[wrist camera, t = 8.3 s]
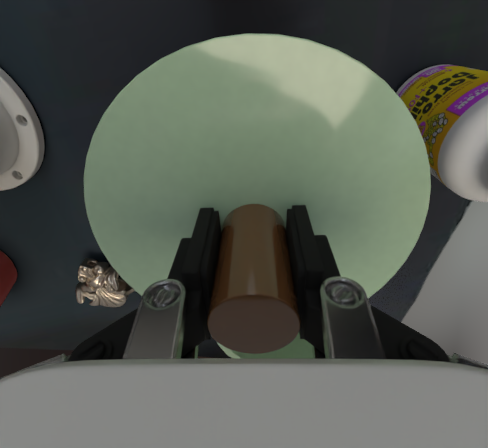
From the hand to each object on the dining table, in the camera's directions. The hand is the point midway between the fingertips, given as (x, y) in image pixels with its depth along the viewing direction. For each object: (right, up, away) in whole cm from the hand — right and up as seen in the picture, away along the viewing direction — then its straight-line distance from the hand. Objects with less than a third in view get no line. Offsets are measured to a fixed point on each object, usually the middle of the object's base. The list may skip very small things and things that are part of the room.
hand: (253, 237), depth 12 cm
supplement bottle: (+14, +10, +11) cm, 21 cm away
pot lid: (0, +1, +1) cm, 1 cm away
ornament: (-16, -5, +22) cm, 28 cm away
